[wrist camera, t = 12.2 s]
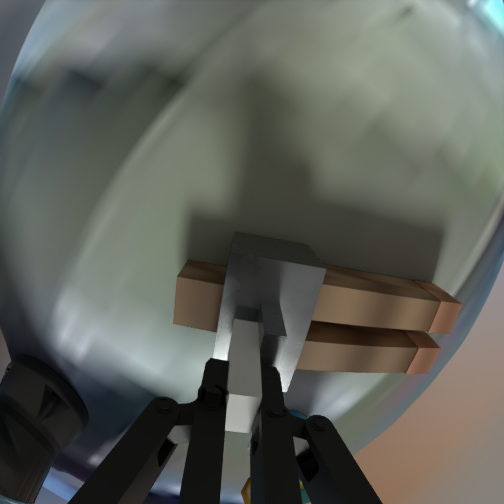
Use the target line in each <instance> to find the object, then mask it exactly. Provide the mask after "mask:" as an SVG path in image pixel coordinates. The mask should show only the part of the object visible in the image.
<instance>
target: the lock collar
mask: <svg viewBox="0 0 504 504" xmlns="http://www.w3.org/2000/svg"><path fill="white" fill-rule="evenodd" d="M325 273H326V268H325V266H324V265H323V264H322V262H321V261H320V260H319V258H318V257H317V256H316V255H315V253H314V252H313V251H312V249H311V248H310V247H309V246H308V245H304V244H299V243H294V242H288V241H283V240H277V239H272V238H267V237H261V236H256V235H250V234H245V233H239V232H235V234H234V238H233V242H232V246H231V250H230V255H229V261H228V266H227V272H226V278H225V284H224V291H223V297H222V303H221V309H220V315H219V322H218V328H217V335H216V341H215V348H214V354H213V358H215V359H220V360H226V361H227V357H228V350H229V345H230V339H231V334H232V329H233V323H234V319H239V320H245V321H251V322H258V332H259V351H260V365H266V366H275V367H276V368H277V369H278V371H279V372H280V376H281V384H282V391H283V392H287V390H288V387H289V384H290V382H291V379H292V376H293V373H294V371H295V368H296V365H297V362H298V359H299V357H300V354H301V351H302V348H303V345H304V342H305V339H306V336H307V333H308V330H309V326H310V323H311V320H312V317H313V314H314V311H315V307H316V304H317V301H318V297H319V294H320V290H321V287H322V283H323V280H324V276H325Z"/></svg>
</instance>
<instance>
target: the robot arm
mask: <svg viewBox="0 0 504 504" xmlns="http://www.w3.org/2000/svg"><path fill="white" fill-rule="evenodd" d="M88 421H89V418H88V413H87V411H86V408H85V406H84V405H83V403H82V401H81V400H80V398H79V397H78V396H77V394H76V393H75V392H74V391H73V389H72V388H71V387H70V386H69V385H68V384H67V383H66V382H65V381H64V380H63V379H62V378H61V377H60V376H59V375H58V374H57V373H55V372H54V371H53V370H52V369H50V368H49V367H48V366H46V365H45V364H43V363H42V362H40V361H38V360H37V359H35V358H32V357H30V356H26V355H19V356H16V357H15V358H14V359H13V360H12V361H11V362H10V363H9V364H8V366H7V368H6V371H5V375H4V376H3V379H2V381H1V383H0V504H35V500H36V498H37V495H38V494H39V491H40V489H41V487H42V485H43V483H44V481H45V478H46V476H47V474H48V472H49V470H50V468H51V466H52V464H53V462H54V460H55V458H56V456H57V455H58V453H59V452H60V451H61V450H63V449H64V448H65V447H67V446H68V445H69V444H71V443H72V442H73V441H74V440H76V439H77V438H78V437H80V436H81V435H82V434H83V432H84V430H85V428H86V426H87V425H88ZM225 430H227V431H234V432H243V433H251V430H252V438H251V441H250V443H249V446H248V450H250V504H303V503H302V496H301V489H300V481H299V478H300V480H301V482H302V484H303V487H304V489H305V491H306V493H307V495H308V497H309V499H310V502H311V504H383V503H382V502H381V500H380V499H379V497H378V496H377V494H376V493H375V491H374V489H373V488H372V486H371V485H370V483H369V482H368V480H367V479H366V477H365V475H364V474H363V472H362V471H361V469H360V467H359V466H358V464H357V463H356V461H355V460H354V458H353V456H352V455H351V453H350V451H349V450H348V448H347V447H346V445H345V443H344V442H343V440H342V438H341V437H340V435H339V434H338V432H337V430H336V429H335V427H334V425H333V424H332V422H331V421H330V420H329V419H328V418H326V417H324V416H321V415H313V416H310V417H309V418H308V419H303V418H299V417H296V416H294V415H292V414H291V413H289V410H288V409H287V408H286V407H285V405H284V398H283V391H282V384H281V376H280V372H279V371H278V369H277V368H276V367H275V366H266V365H260V351H259V332H258V322H251V321H245V320H239V319H234V323H233V329H232V334H231V339H230V345H229V350H228V357H227V361H226V360H220V359H215V358H210V359H209V360H208V361H207V362H206V365H205V370H204V374H203V379H202V384H201V386H200V388H199V390H198V398H197V399H196V400H195V401H193V402H191V403H186V404H178V403H177V402H176V401H175V400H173V399H172V398H168V397H158V398H155V399H153V400H152V401H151V402H150V403H149V405H148V406H147V407H146V408H145V409H144V411H143V412H142V413H141V414H140V416H139V417H138V418H137V419H136V421H135V422H134V423H133V424H132V426H131V427H130V428H129V429H128V431H127V432H126V433H125V434H124V436H123V437H122V438H121V439H120V440H119V442H118V443H117V444H116V445H115V447H114V448H113V449H112V450H111V452H110V453H109V454H108V455H107V456H106V458H105V459H104V460H103V461H102V462H101V464H100V465H99V466H98V467H97V469H96V470H95V471H94V472H93V473H92V475H91V476H90V477H89V478H88V479H87V481H86V482H85V483H84V484H83V485H82V487H81V488H80V489H79V490H78V491H77V493H76V494H75V495H74V496H73V497H72V499H71V500H70V501H69V502H68V504H142V502H143V501H144V499H145V497H146V496H147V494H148V493H149V491H150V489H151V488H152V486H153V485H154V483H155V481H156V480H157V478H158V477H159V475H160V473H161V472H162V470H163V468H164V467H165V465H166V463H167V462H168V460H169V459H170V457H171V455H172V454H173V452H174V450H175V449H176V447H177V445H178V444H181V443H189V446H188V451H187V457H186V462H185V468H184V473H183V479H182V484H181V490H180V496H179V502H178V504H220V490H221V476H222V463H223V450H224V437H225Z"/></svg>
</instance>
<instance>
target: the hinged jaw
mask: <svg viewBox="0 0 504 504" xmlns="http://www.w3.org/2000/svg"><path fill="white" fill-rule="evenodd" d="M323 265H324V266H325V268H326V273H325V276H324V280H323V283H322V287H321V290H320V294H319V297H318V301H317V304H316V307H315V311H314V314H313V317H312V320H315V321H323V322H331V323H340V324H349V325H358V326H368V327H379V328H391V329H404V330H418V331H427V332H428V333H447V334H450V332H451V330H452V327H453V325H454V323H455V321H456V318H457V316H458V314H459V311H460V309H461V306H462V303H460V302H459V301H457V300H456V299H455V298H453V297H452V296H451V295H449V294H448V293H447V292H445V291H444V290H442V289H441V288H440V287H438V286H437V285H435V284H432V283H427V282H421V281H416V280H414V281H412V280H407V279H401V278H396V277H390V276H385V275H379V274H374V273H369V272H363V271H358V270H352V269H347V268H341V267H336V266H330V265H325V264H323Z"/></svg>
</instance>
